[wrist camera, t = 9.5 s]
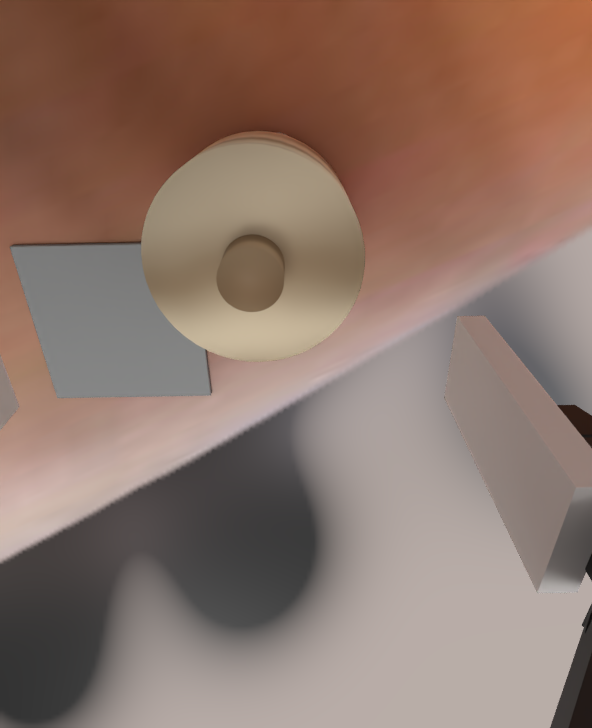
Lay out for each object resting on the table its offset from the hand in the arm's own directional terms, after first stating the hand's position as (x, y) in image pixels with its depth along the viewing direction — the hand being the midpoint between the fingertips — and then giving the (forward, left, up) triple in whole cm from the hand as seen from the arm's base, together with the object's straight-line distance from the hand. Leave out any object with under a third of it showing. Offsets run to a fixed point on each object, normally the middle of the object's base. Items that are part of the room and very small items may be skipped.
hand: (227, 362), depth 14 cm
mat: (+8, -11, -20) cm, 24 cm away
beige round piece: (0, 0, -15) cm, 15 cm away
